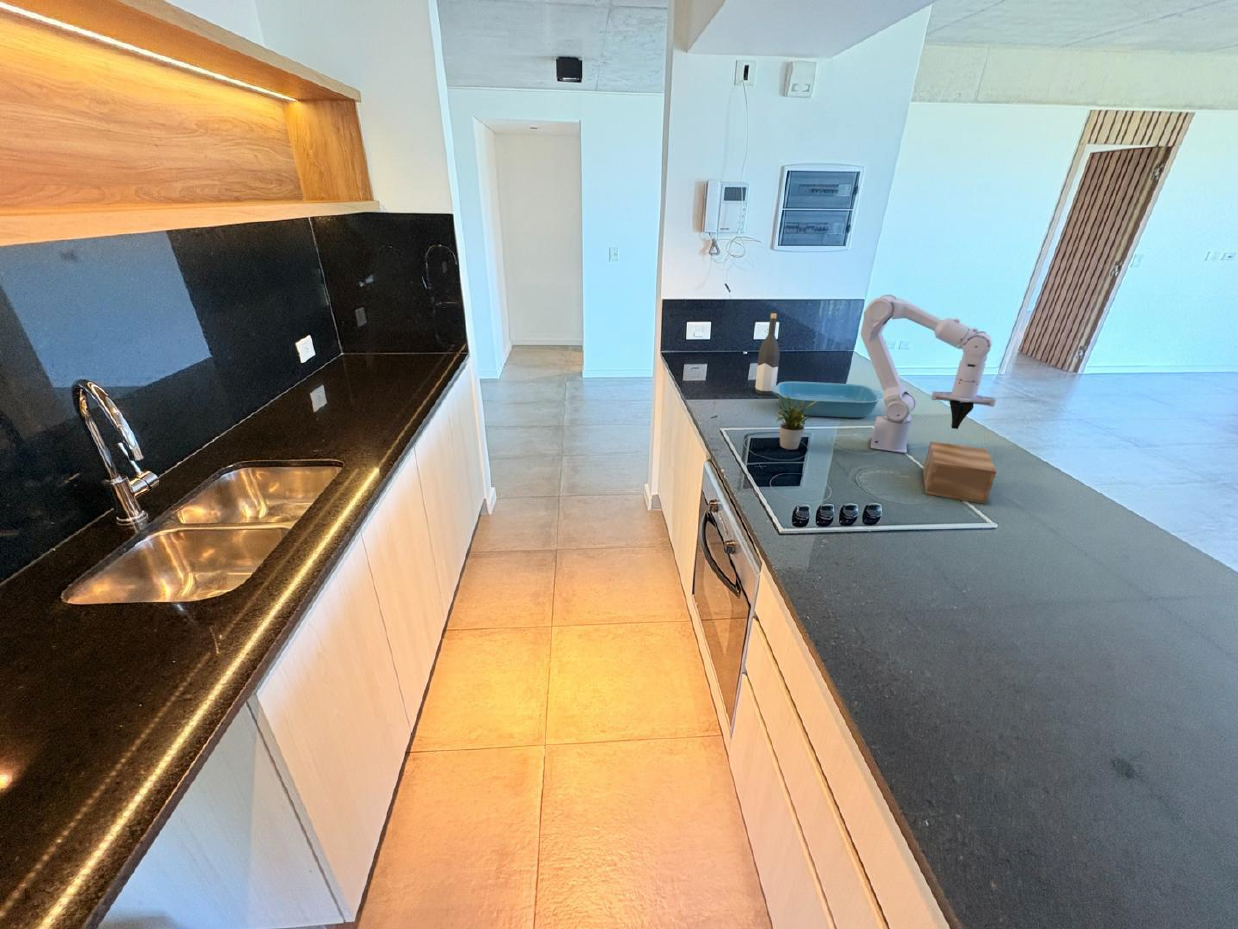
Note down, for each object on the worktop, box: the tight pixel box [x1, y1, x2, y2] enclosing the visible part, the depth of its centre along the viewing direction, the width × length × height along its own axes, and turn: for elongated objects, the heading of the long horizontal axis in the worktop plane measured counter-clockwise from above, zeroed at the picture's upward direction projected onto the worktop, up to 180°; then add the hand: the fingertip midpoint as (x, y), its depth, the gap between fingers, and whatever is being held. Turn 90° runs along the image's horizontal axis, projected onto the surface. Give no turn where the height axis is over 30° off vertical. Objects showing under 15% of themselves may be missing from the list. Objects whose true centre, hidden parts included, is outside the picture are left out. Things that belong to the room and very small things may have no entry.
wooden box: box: [922, 441, 997, 505], centre depth 132 cm, size 15×13×9 cm
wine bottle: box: [754, 312, 781, 396], centre depth 202 cm, size 8×8×30 cm
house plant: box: [772, 393, 818, 450], centre depth 155 cm, size 14×14×16 cm
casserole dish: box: [772, 381, 884, 419], centre depth 187 cm, size 37×22×7 cm, turn 78°
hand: (954, 427), depth 145 cm, fingers closed
